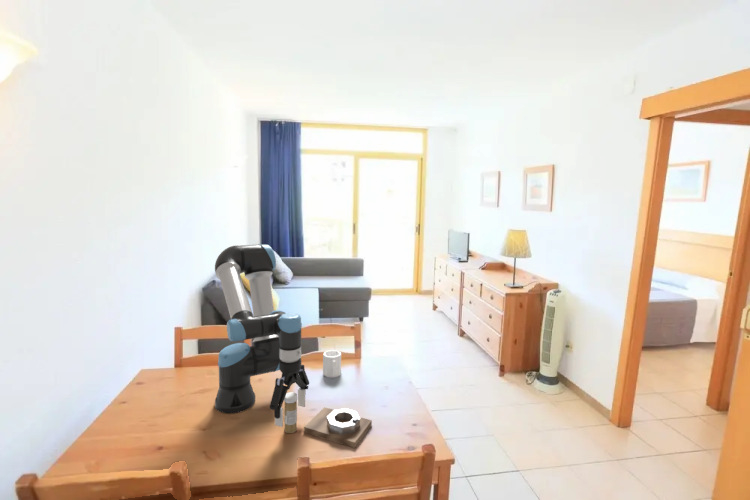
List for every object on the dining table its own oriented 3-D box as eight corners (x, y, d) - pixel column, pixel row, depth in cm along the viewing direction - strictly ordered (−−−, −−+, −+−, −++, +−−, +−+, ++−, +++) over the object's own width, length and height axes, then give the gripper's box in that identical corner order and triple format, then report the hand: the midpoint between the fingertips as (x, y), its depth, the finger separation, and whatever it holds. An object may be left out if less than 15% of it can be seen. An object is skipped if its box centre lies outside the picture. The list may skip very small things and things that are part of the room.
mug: (321, 370, 184) (321, 351, 182) (339, 368, 186) (339, 349, 185) (325, 382, 172) (326, 361, 171) (344, 380, 175) (345, 359, 173)
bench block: (304, 432, 136) (304, 426, 136) (324, 412, 149) (324, 407, 149) (354, 448, 129) (354, 442, 128) (371, 425, 141) (371, 420, 141)
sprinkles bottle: (285, 426, 139) (284, 391, 137) (297, 425, 140) (297, 391, 138) (283, 434, 135) (283, 398, 133) (296, 433, 135) (296, 398, 133)
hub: (322, 429, 135) (322, 419, 134) (337, 413, 145) (337, 404, 144) (350, 437, 131) (350, 427, 130) (363, 420, 141) (363, 411, 140)
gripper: (276, 375, 121) (277, 437, 123) (318, 347, 143) (318, 400, 146) (257, 370, 123) (258, 431, 126) (301, 344, 146) (301, 396, 149)
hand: (290, 415), depth 136 cm, fingers open, 13 cm apart
